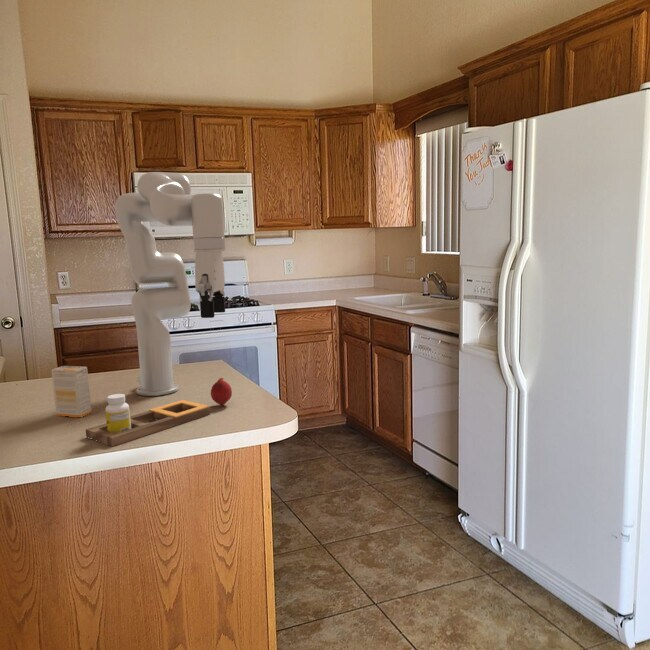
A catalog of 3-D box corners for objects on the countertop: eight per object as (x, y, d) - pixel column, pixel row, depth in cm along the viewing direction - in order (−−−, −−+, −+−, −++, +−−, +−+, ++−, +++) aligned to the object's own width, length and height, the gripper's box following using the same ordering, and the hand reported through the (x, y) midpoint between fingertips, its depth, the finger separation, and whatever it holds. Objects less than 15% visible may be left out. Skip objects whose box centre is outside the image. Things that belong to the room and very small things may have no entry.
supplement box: (92, 413, 163) (88, 366, 161) (80, 418, 159) (75, 370, 157) (68, 411, 166) (63, 364, 164) (55, 416, 162) (50, 368, 160)
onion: (228, 408, 164) (226, 380, 162) (208, 408, 165) (206, 379, 164) (235, 402, 169) (233, 375, 168) (216, 402, 170) (214, 374, 169)
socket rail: (86, 437, 143) (85, 428, 143) (183, 407, 166) (182, 399, 166) (112, 446, 137) (111, 436, 136) (209, 414, 159) (209, 405, 159)
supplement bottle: (111, 432, 147) (107, 393, 145) (133, 431, 147) (130, 392, 146) (105, 439, 141) (101, 399, 140) (128, 438, 142) (125, 398, 140)
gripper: (205, 245, 155) (208, 310, 158) (182, 246, 138) (187, 320, 141) (233, 244, 154) (236, 310, 157) (214, 245, 137) (218, 319, 140)
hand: (213, 314), depth 149 cm, fingers open, 9 cm apart
